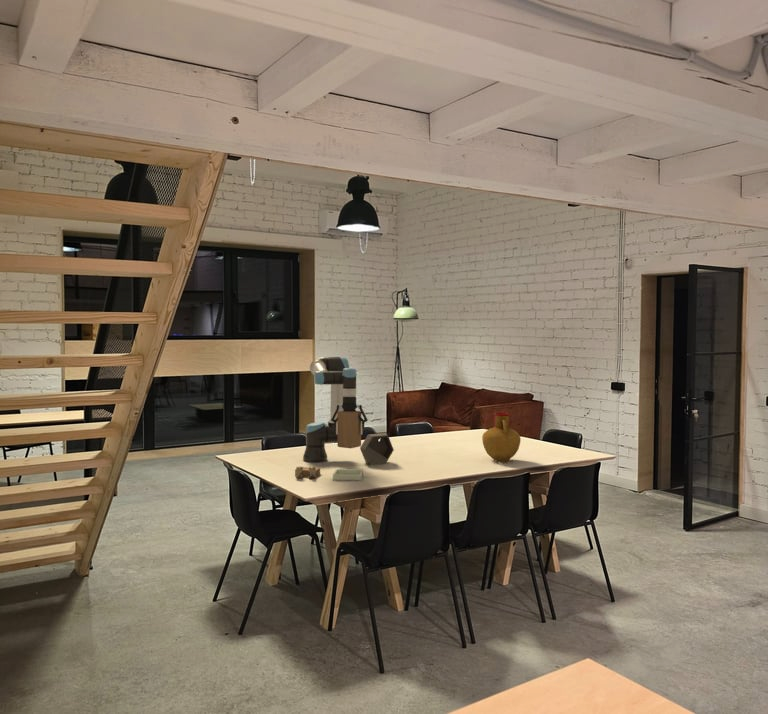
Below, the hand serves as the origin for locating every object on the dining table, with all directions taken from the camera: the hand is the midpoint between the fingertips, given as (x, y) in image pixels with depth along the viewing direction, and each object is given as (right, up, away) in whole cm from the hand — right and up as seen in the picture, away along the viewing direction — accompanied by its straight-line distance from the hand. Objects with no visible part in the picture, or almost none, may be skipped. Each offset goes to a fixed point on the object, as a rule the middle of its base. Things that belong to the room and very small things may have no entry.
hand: (349, 434), depth 369 cm
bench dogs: (-24, -24, -5) cm, 34 cm away
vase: (+93, -23, +50) cm, 108 cm away
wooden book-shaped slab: (-23, -24, +2) cm, 33 cm away
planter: (+15, -22, +38) cm, 47 cm away
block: (0, -7, 0) cm, 7 cm away
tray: (0, -24, -3) cm, 24 cm away
